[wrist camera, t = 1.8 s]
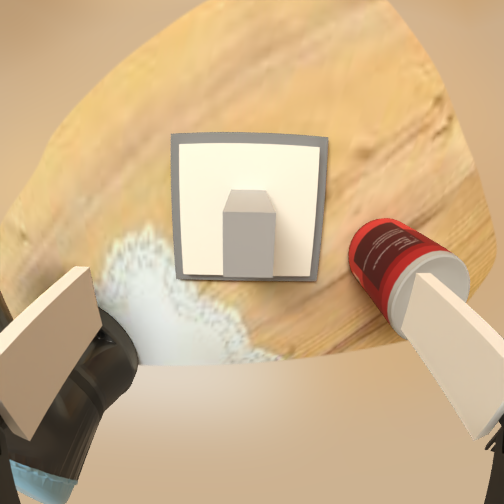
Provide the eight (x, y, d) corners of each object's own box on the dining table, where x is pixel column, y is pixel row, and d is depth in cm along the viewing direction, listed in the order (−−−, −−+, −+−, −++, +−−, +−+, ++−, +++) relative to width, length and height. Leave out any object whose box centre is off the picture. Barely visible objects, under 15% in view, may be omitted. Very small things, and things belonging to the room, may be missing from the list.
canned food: (401, 285, 31) (451, 339, 20) (339, 282, 30) (377, 345, 20) (417, 221, 28) (482, 257, 18) (352, 211, 28) (407, 249, 17)
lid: (185, 269, 28) (159, 327, 19) (181, 144, 24) (144, 143, 15) (307, 271, 29) (333, 330, 19) (317, 147, 25) (356, 148, 15)
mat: (177, 275, 30) (176, 278, 29) (173, 134, 25) (170, 133, 24) (314, 277, 30) (316, 281, 29) (325, 137, 25) (328, 137, 24)
